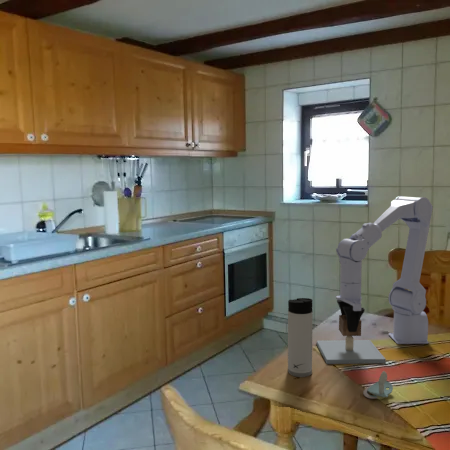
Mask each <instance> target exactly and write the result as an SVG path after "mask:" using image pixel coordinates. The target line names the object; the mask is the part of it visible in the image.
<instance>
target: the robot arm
mask: <svg viewBox="0 0 450 450" xmlns="http://www.w3.org/2000/svg"><path fill="white" fill-rule="evenodd" d="M433 208H434V206H433V204H432V202H431V201H430V199H429V198H427V197H425V196H419V197H418V196H416V197H415V196H404V195H398V196H396V197H395V198H394V199H393V200H391V201H390V205H389V207H388V208H387V209H386V210H385V211H383V213H382V214H381V215H380V216H379V217H377V219H375V220H374V222H366V223H365V222H364V223H363V224H362V225H361V228H359V229H358V230H357V231H356V232H355V233H352V234H351V235H350V237H348V238H343V239H342V240H341V241H339V243H338V245H337V248H335V250H336V251H335V252H336V255H337V256H338V261H339V263H340V275H339V276H340V279H339V281H340V283H339V295H336V296H335V300H336V302H337V305H338V307H339V310H340V315H346V319H347V327H348V331H349V332H356V331H357V328H358V324H359V321H360V320H361V318H362V316H363V314H364V313H365V308H364V307H362V299H363V298H362V271H363V270H362V267H363V266H362V265H363V262H362V261H363V260H364V259H365V258H366V257H367V254H368V251H369V250H370V249H371V247H373V245H375V244H376V243H377V242H378V241H379V240H380V239H381V238H382V235H383V234H382V233H383V231H386V229H388V228H389V227H390V226H392V225H393V224H395V223H396V222H398V220H401V221H402V222H404V223H405V224H406V225H407V227H408V228H409V230H408V234H407V235H408V236H407V242H406V246H405V251H404V257H403V258H404V259H403V262H402V269H401V273H400V274H401V275H400V278H399V279H397V280H396V281H394V282H393V284H392V287H391V290H390V292H389V293H388V303H389V305H391V309H392V310H393V328H392V330H393V331H392V332H390V333H388V336H389V337H390V338H391V339H392V340H393V341H394V342H395V343H396V344H398V345H414V344H415V345H417V344H419V345H420V344H429V341H428V340H429V339H428V335H429V334H428V333H429V319H428V315H427V314H426V312H425V311H424V310H425V309H426V306H427V299H426V293H427V289H426V288H425V287H424V286H423V285H422V284H421V282H420V280H421V274H422V270H423V265H424V264H423V263H424V258H425V253H426V247H427V242H428V238H429V231H430V224H431V221H432V220H431V219H432V215H433Z"/></svg>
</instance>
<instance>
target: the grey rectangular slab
mask: <svg viewBox="0 0 450 450" xmlns="http://www.w3.org/2000/svg"><path fill="white" fill-rule="evenodd" d="M316 346H317V348H318V350H319V351H320V354H321V355H322V358H323V359H324V361H325V363H326V365H337V364H338V365H341V364H342V365H343V364H344V365H348V364H349V365H350V364H357V365H358V364H386V363H387V362H386V361H387V360H386V357H385V356H384V355H383V354H382V353H381V352H380V350H379V349H378V348H377V347H376V346H375V344H374V343H373V342H372V340H371V339H354V336H345V339H342V340H341V339H340V340H339V339H338V340H337V339H334V340H329V339H328V340H316Z"/></svg>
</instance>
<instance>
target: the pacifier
mask: <svg viewBox="0 0 450 450" xmlns="http://www.w3.org/2000/svg"><path fill="white" fill-rule="evenodd" d="M393 388H394V387H393V384H392V383H391V382H390V381H388V374H387V371H386V370H382V372H381V374H380V375H379V378H378V381H377V382H375V383H373V384H372V385H370V386H367V387H366V388H365V389H364V390H363V391H362V393H363V396H364V397H366V398H368V399H370V400H373V399H376V400H383V399H384V398H388V397H389V395H390V394H392V393H393V390H394V389H393ZM369 393H370V394H369ZM371 394H372V395H371Z"/></svg>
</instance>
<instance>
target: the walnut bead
mask: <svg viewBox="0 0 450 450" xmlns="http://www.w3.org/2000/svg"><path fill="white" fill-rule="evenodd" d="M338 330H339V332H340V334H341V335H342V336H343V337H347V336H352V337H361V336H362V319H360V321H359V324H358V328H357V331H356V332H349V331H348V327H347V319H346V315H341V314H339V316H338Z"/></svg>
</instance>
